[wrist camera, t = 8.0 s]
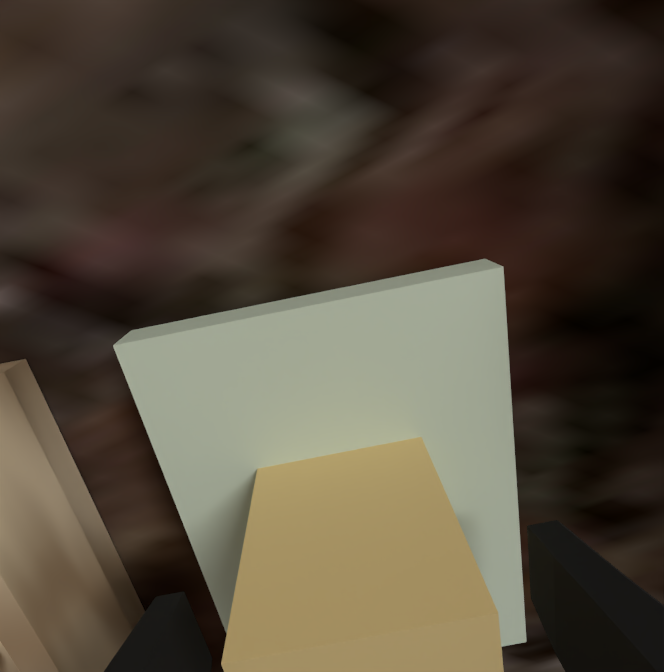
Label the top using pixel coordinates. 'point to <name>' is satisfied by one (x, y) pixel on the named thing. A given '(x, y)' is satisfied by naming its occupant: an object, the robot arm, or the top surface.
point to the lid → (346, 471)
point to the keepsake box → (53, 547)
